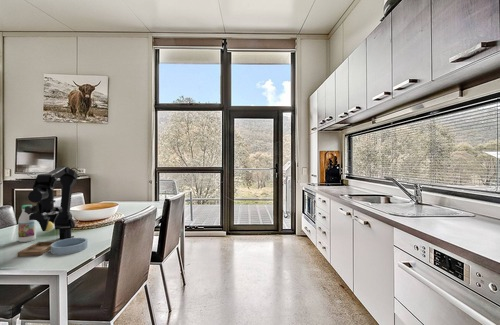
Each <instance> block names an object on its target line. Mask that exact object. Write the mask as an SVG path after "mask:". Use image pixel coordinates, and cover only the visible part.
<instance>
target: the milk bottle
mask: <svg viewBox="0 0 500 325" xmlns="http://www.w3.org/2000/svg"><path fill="white" fill-rule="evenodd" d="M30 205H31V206H32V207H33V205H32V204H23V205H21V213H20V215H19V218H18V221H17V222H18V224H17V228H18V229H17V230H18V232H17V233H18V234H17V237H18V242H19V243H26V242H33V241H35V240H36V239H37V221H36V220H29V215H31V214H29V215H28V214H27V213H26V212H24V211H25V207H26V206H30Z"/></svg>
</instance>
